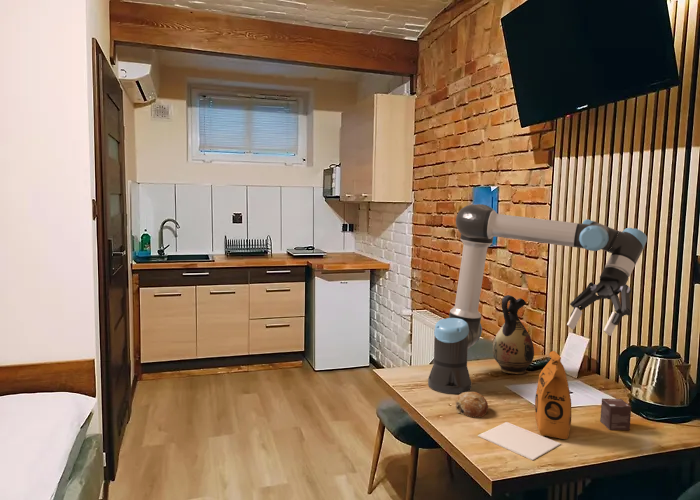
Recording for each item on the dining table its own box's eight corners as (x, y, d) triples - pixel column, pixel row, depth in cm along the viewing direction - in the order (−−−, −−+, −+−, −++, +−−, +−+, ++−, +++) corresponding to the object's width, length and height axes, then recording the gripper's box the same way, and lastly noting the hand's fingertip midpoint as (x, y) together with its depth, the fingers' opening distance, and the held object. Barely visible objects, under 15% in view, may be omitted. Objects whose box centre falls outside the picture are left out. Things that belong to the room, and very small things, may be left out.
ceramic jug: (507, 361, 211) (511, 290, 208) (541, 372, 198) (545, 296, 195) (480, 369, 201) (483, 294, 198) (513, 381, 188) (517, 301, 185)
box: (619, 421, 155) (621, 398, 154) (630, 430, 149) (632, 406, 148) (599, 421, 155) (601, 398, 154) (609, 430, 149) (610, 406, 148)
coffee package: (532, 435, 144) (538, 359, 142) (533, 418, 156) (538, 348, 154) (571, 442, 141) (577, 364, 139) (569, 424, 152) (574, 352, 150)
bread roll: (452, 418, 164) (445, 399, 161) (471, 399, 169) (465, 380, 166) (477, 430, 156) (470, 410, 153) (496, 409, 161) (490, 389, 158)
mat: (477, 436, 144) (477, 435, 144) (506, 422, 153) (506, 421, 153) (532, 460, 131) (532, 459, 131) (560, 444, 140) (560, 443, 140)
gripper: (661, 281, 150) (632, 342, 145) (590, 277, 173) (563, 331, 168) (646, 266, 148) (616, 328, 143) (577, 265, 171) (549, 318, 166)
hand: (587, 330), depth 155 cm, fingers open, 13 cm apart
